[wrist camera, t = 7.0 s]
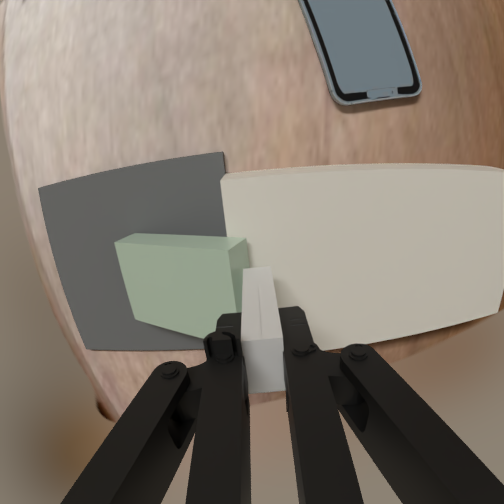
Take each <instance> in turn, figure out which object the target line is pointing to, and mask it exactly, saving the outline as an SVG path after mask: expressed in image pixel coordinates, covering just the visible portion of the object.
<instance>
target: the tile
mask: <svg viewBox="0 0 504 504" xmlns="http://www.w3.org/2000/svg"><path fill="white" fill-rule="evenodd" d="M114 243H115V248H116V252H117V256H118V260H119V264H120V268H121V272H122V276H123V279H124V283H125V287H126V290H127V294H128V297H129V301H130V304H131V307H132V311H133V314H134V317H135V319H136V320H139V321H142V322H145V323H149V324H152V325H156V326H159V327H162V328H166V329H169V330H173V331H177V332H180V333H184V334H188V335H191V336H195V337H199V338H203V339H204V338H205V337H206V336H207V335H208V334H209V333H212V332H214V331H215V330H216V324H217V320H218V318H219V317H220V316H221V315H222V314H226V313H238V312H242V286H243V269H246V268H250V266H249V258H248V249H247V240H246V238H239V237H218V236H195V235H171V234H145V233H134V234H132V235H129V236H127V237H125V238H123V239H121V240H118V241H116V242H114Z"/></svg>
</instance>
